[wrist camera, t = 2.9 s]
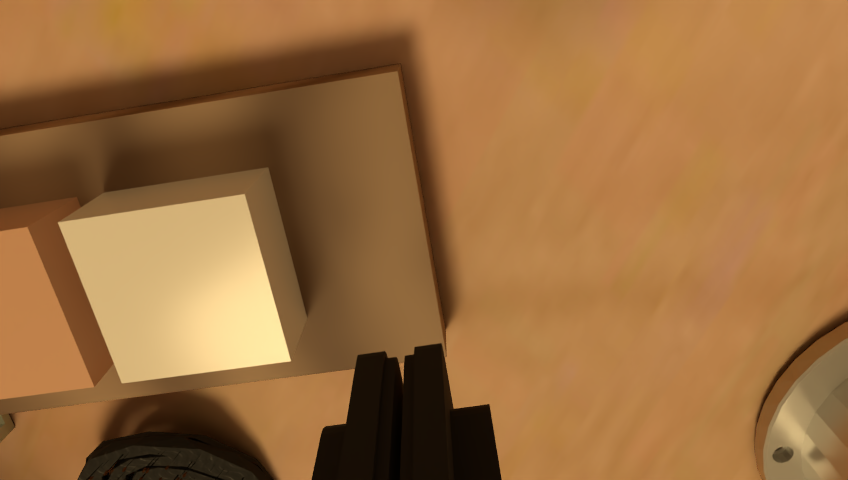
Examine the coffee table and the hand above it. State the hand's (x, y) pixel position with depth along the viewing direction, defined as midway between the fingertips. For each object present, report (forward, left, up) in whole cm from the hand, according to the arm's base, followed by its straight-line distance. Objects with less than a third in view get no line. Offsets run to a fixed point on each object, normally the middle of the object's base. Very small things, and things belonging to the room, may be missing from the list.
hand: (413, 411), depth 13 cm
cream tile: (+8, 0, -11) cm, 14 cm away
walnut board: (+10, 0, -13) cm, 16 cm away
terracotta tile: (+15, 0, -11) cm, 19 cm away
